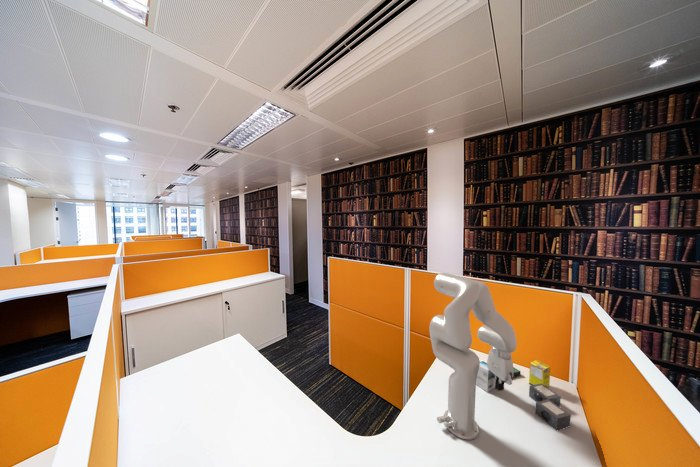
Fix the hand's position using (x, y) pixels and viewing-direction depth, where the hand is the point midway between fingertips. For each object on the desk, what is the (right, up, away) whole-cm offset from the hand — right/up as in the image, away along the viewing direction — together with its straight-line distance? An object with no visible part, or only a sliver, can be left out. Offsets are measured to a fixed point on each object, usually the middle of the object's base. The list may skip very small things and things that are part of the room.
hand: (499, 389), depth 105 cm
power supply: (+18, -4, -3) cm, 19 cm away
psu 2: (+13, -4, -12) cm, 19 cm away
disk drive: (+12, -3, +17) cm, 21 cm away
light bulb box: (-4, -3, +8) cm, 10 cm away
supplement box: (+24, -3, +7) cm, 25 cm away
